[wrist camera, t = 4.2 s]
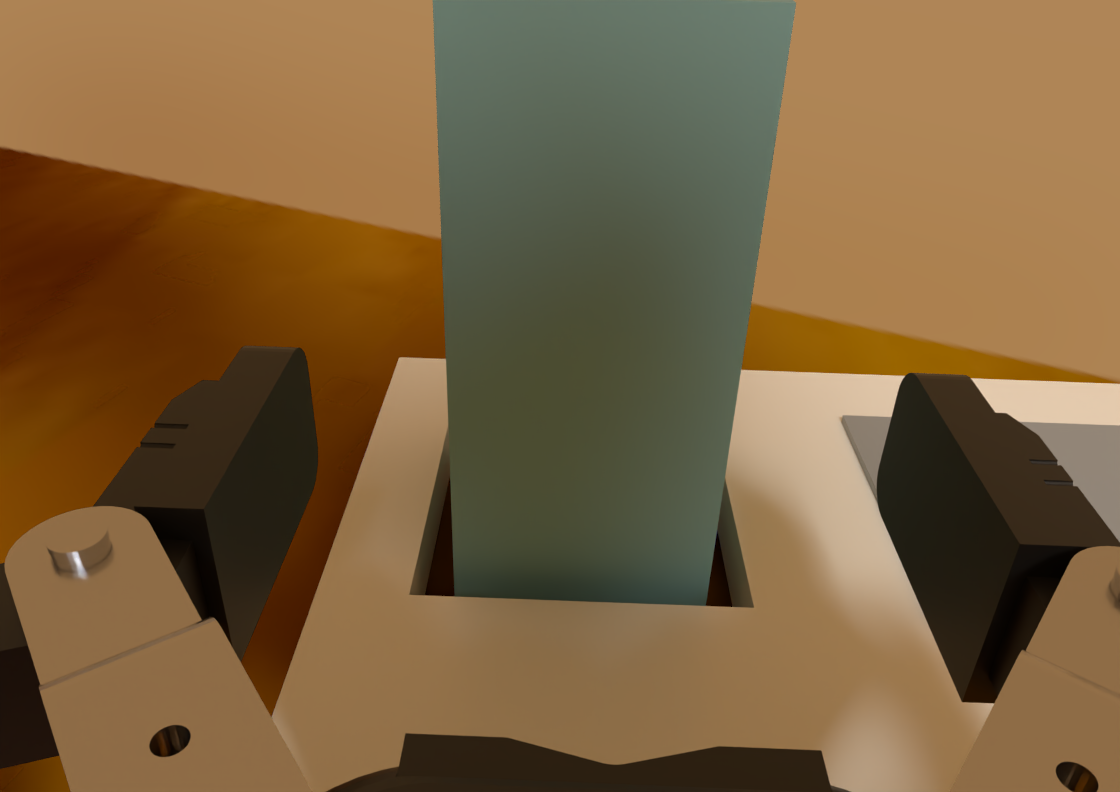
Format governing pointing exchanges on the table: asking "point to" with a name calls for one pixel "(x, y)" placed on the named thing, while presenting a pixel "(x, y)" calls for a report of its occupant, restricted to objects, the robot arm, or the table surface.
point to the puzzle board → (667, 630)
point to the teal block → (598, 282)
